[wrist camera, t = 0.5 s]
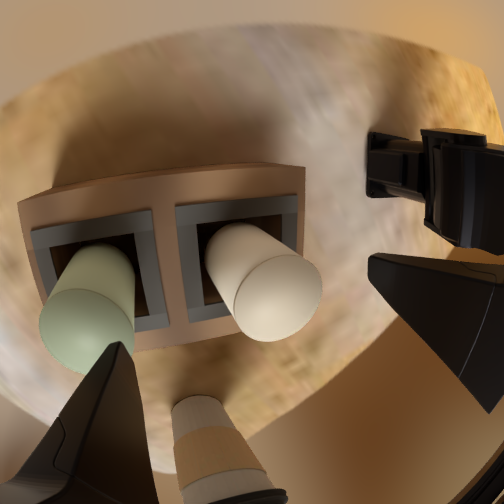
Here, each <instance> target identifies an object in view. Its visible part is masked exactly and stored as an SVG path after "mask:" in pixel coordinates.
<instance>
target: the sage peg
mask: <svg viewBox="0 0 504 504" xmlns="http://www.w3.org/2000/svg"><path fill="white" fill-rule="evenodd" d="M134 298H135V272H134V268H133V266H132V263H131V262H130V260H129V258H128V257H127V256H126V255H125V254H124V253H123V252H122V251H121V250H120V249H118V248H117V247H115V246H113V245H110V244H107V243H99V242H97V243H91V244H88V245H85V246H83V247H82V248H80V249H79V250H78V251H77V252H76V253H75V254H74V256H73V257H72V259H71V260H70V262H69V263H68V265H67V267H66V268H65V270H64V272H63V273H62V275H61V277H60V278H59V280H58V282H57V283H56V285H55V287H54V289H53V290H52V292H51V294H50V296H49V298H48V299H47V301H46V303H45V305H44V307H43V309H42V311H41V314H40V318H39V331H40V335H41V338H42V341H43V343H44V345H45V347H46V348H47V350H48V351H49V353H50V354H51V355H52V356H53V357H54V358H55V359H56V360H57V361H58V362H59V363H61V364H62V365H64V366H65V367H67V368H69V369H71V370H73V371H75V372H78V373H81V374H86V375H87V373H88V372H89V370H90V369H91V368H92V366H93V365H94V364H95V362H96V361H97V360H98V358H99V357H100V355H101V354H102V353H103V351H104V350H105V349H106V347H107V346H108V345H109V344H110V343H113V342H117V341H121V342H122V343H123V344H124V345H125V347H126V349H127V351H128V353H129V354H130V356H132V354H133V350H134V343H135V339H134Z"/></svg>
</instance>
